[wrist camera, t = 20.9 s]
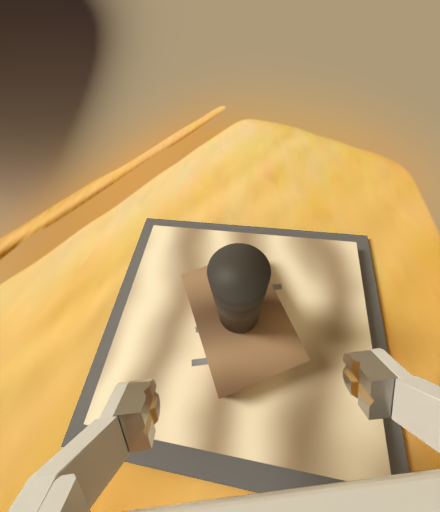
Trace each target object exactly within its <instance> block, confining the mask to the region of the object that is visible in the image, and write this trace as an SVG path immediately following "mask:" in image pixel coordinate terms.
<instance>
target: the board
mask: <svg viewBox="0 0 440 512" xmlns="http://www.w3.org/2000/svg"><path fill="white" fill-rule="evenodd" d="M233 243H244V244H249V245H252V246H254V247H256V248H258V249H259V250H260V251H261V252H263V253H264V255H265V256H266V257H267V259H268V261H269V263H270V266H271V278H270V282H271V284H272V286H273V288H274V290H275V292H276V294H277V296H278V298H279V300H280V302H281V303H282V305H283V307H284V309H285V311H286V313H287V315H288V317H289V319H290V321H291V323H292V325H293V327H294V329H295V331H296V333H297V335H298V337H299V339H300V341H301V342H302V344H303V346H304V348H305V350H306V352H307V354H308V356H309V358H310V361H308V362H306V363H303V364H301V365H298V366H296V367H294V368H291V369H289V370H287V371H284V372H282V373H280V374H277V375H275V376H272V377H270V378H268V379H265V380H263V381H261V382H258V383H256V384H253V385H251V386H249V387H246V388H244V389H242V390H239V391H237V392H235V393H232V394H230V395H227V396H225V397H223V398H220V399H219V398H218V395H217V391H216V388H215V385H214V381H213V378H212V375H211V372H210V368H209V365H208V362H207V359H206V355H205V352H204V349H203V345H202V342H201V339H200V336H199V332H198V329H197V326H196V322H195V319H194V316H193V313H192V309H191V306H190V303H189V300H188V296H187V293H186V290H185V286H184V283H183V280H182V277H181V275H182V274H185V273H187V272H190V271H193V270H196V269H199V268H201V267H204V266H207V265H208V263H209V261H210V259H211V257H212V256H213V254H214V253H215V252H216V251H217V250H219V249H220V248H222V247H224V246H226V245H229V244H233ZM369 349H372V344H371V337H370V330H369V324H368V317H367V310H366V304H365V297H364V290H363V284H362V277H361V270H360V264H359V257H358V250H357V244H356V242H349V241H337V240H325V239H313V238H301V237H289V236H277V235H265V234H253V233H241V232H229V231H217V230H205V229H194V228H182V227H170V226H158V225H153V228H152V231H151V234H150V237H149V240H148V242H147V245H146V248H145V251H144V254H143V257H142V259H141V262H140V265H139V268H138V271H137V274H136V277H135V279H134V282H133V285H132V288H131V291H130V294H129V296H128V299H127V302H126V305H125V308H124V311H123V313H122V316H121V319H120V322H119V325H118V328H117V330H116V333H115V336H114V339H113V342H112V345H111V347H110V350H109V353H108V356H107V359H106V362H105V365H104V367H103V370H102V373H101V376H100V379H99V382H98V384H97V387H96V390H95V393H94V396H93V399H92V401H91V404H90V407H89V410H88V413H87V416H86V418H85V421H84V424H85V425H89V424H91V423H92V422H93V421H94V420H95V419H99V418H100V416H101V414H102V412H103V410H104V408H105V406H106V404H107V402H108V400H109V398H110V396H111V394H112V392H113V390H114V388H115V386H116V385H117V384H118V383H121V382H130V381H137V380H147V379H154V380H155V383H156V390H155V392H156V393H157V394H159V398H160V415H159V419H158V421H157V422H156V424H155V425H154V427H155V430H156V432H155V437H154V440H159V441H164V442H168V443H173V444H178V445H182V446H187V447H191V448H196V449H201V450H205V451H210V452H215V453H219V454H224V455H229V456H233V457H238V458H242V459H247V460H252V461H256V462H261V463H266V464H270V465H275V466H279V467H284V468H289V469H293V470H298V471H303V472H307V473H312V474H317V475H321V476H326V477H330V478H335V479H340V480H344V481H352V480H360V479H367V478H374V477H382V476H389V475H391V470H390V464H389V457H388V450H387V444H386V437H385V430H384V424H383V419H375V420H368V418H367V417H366V415H365V414H364V413H363V411H362V410H361V408H360V407H359V405H358V398H356V397H354V396H353V395H351V394H350V392H349V391H348V389H347V387H346V385H345V383H344V379H343V369H344V368H345V366H346V365H345V363H344V362H343V355H344V353H350V352H357V351H364V350H369Z"/></svg>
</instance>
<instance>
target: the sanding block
mask: <svg viewBox="0 0 440 512" xmlns="http://www.w3.org/2000/svg"><path fill="white" fill-rule="evenodd" d="M181 277H182V280H183V283H184V286H185V290H186V293H187V296H188V300H189V303H190V306H191V309H192V313H193V316H194V319H195V322H196V326H197V329H198V332H199V336H200V339H201V342H202V345H203V349H204V352H205V355H206V359H207V362H208V365H209V368H210V372H211V375H212V378H213V381H214V385H215V388H216V391H217V395H218V398H219V399H220V398H223V397H225V396H227V395H230V394H232V393H235V392H237V391H239V390H242V389H244V388H246V387H249V386H251V385H253V384H256V383H258V382H261V381H263V380H265V379H268V378H270V377H272V376H275V375H277V374H280V373H282V372H284V371H287V370H289V369H291V368H294V367H296V366H298V365H301V364H303V363H306V362H308V361H310V358H309V356H308V354H307V352H306V350H305V348H304V346H303V344H302V342H301V341H300V339H299V337H298V335H297V333H296V331H295V329H294V327H293V325H292V323H291V321H290V319H289V317H288V315H287V313H286V311H285V309H284V307H283V305H282V303H281V302H280V300H279V298H278V296H277V294H276V292H275V290H274V288H273V286H272V284H271V282H270V278H271V266H270V263H269V261H268V259H267V257H266V256H265V255H264V253H263V252H261V251H260V250H259V249H258V248H256V247H254V246H252V245H249V244H244V243H233V244H229V245H226V246H224V247H222V248H220V249H219V250H217V251H216V252H215V253H214V254H213V256H212V257H211V259H210V261H209V263H208V265H207V266H204V267H201V268H199V269H196V270H193V271H190V272H187V273H185V274H182V275H181Z"/></svg>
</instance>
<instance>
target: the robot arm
mask: <svg viewBox="0 0 440 512" xmlns="http://www.w3.org/2000/svg"><path fill="white" fill-rule="evenodd" d="M343 362H344V363H345V365H346V366H345V368H344V369H343V379H344V383H345V385H346V387H347V389H348V391H349V392H350V394H351V395H353V396H354V397H356V398H358V405H359V407H360V408H361V410H362V411H363V413H364V414H365V415H366V417H367V418H368V420H375V419H384V418H392V420H394V421H395V422H396V423H398V424H399V425H401V426H402V427H403V428H405V429H406V430H408V431H409V432H410V433H412V434H413V435H415V436H416V437H417V438H419V439H420V440H422V441H423V442H425V443H426V444H427V445H429V446H430V447H432V448H433V449H434V450H436V451H437V452H439V453H440V386H439V385H436V384H434V383H432V382H430V381H427V380H425V379H423V378H420V377H418V376H414V377H413V376H412V375H411V374H410V373H409V372H408V371H407V370H405V369H404V368H403V367H402V366H401V365H400V364H399V363H398V362H397V361H396V360H394V359H393V358H392V357H391V356H390V355H389V354H388V353H387V352H386V351H385V350H383V349H381V348H376V349H369V350H364V351H357V352H350V353H344V355H343ZM155 390H156V383H155V380H154V379H147V380H137V381H130V382H121V383H118V384H117V385H116V386H115V388H114V390H113V392H112V394H111V396H110V398H109V400H108V402H107V404H106V406H105V408H104V410H103V412H102V414H101V416H100V418H99V419H95V420H94V421H93V422H92V423H91V424H89V425H88V426H87V427H86V428H85V429H84V430H83V431H82V432H80V433H79V434H78V435H77V436H76V437H75V438H74V439H73V440H71V441H70V442H69V443H68V444H67V445H66V446H65V447H64V448H62V449H61V450H60V451H59V452H58V453H57V454H56V455H55V456H53V457H52V458H51V459H50V460H49V461H48V462H47V463H46V464H44V465H43V466H42V467H41V468H40V469H39V470H38V471H37V472H35V473H34V474H33V475H32V476H31V477H30V478H29V479H28V481H27V482H26V484H25V485H24V487H23V488H22V490H21V492H20V493H19V495H18V496H17V498H16V499H15V501H14V503H13V504H12V506H11V507H10V509H9V510H8V512H91V511H90V508H91V507H92V505H93V504H94V502H95V501H96V500H97V498H98V497H99V496H100V494H101V493H102V491H103V490H104V489H105V487H106V486H107V485H108V483H109V482H110V480H111V479H112V478H113V476H114V475H115V474H116V472H117V471H118V469H119V468H120V467H121V465H122V464H123V462H124V461H125V460H126V458H127V457H128V456H129V453H132V452H138V451H144V450H150V449H152V445H153V441H154V437H155V432H156V430H155V427H154V425H155V424H156V422H157V421H158V419H159V415H160V398H159V394H157V393H156V392H155ZM122 512H440V469H434V470H426V471H419V472H411V473H404V474H396V475H389V476H382V477H374V478H367V479H360V480H352V481H345V482H338V483H330V484H323V485H316V486H308V487H301V488H294V489H286V490H278V491H271V492H263V493H256V494H248V495H241V496H233V497H226V498H218V499H211V500H203V501H196V502H189V503H181V504H174V505H166V506H159V507H151V508H144V509H136V510H129V511H122Z"/></svg>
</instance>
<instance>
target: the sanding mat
mask: <svg viewBox="0 0 440 512" xmlns="http://www.w3.org/2000/svg"><path fill="white" fill-rule="evenodd" d="M153 225H158V226H170V227H182V228H194V229H205V230H217V231H229V232H241V233H253V234H265V235H277V236H289V237H301V238H313V239H325V240H337V241H349V242H356V244H357V250H358V257H359V264H360V270H361V277H362V284H363V290H364V297H365V304H366V310H367V317H368V324H369V330H370V337H371V344H372V349H376V348H381V349H383V350H385V351H386V352H387V353H388V349H387V344H386V338H385V333H384V327H383V321H382V316H381V310H380V305H379V299H378V293H377V288H376V282H375V277H374V271H373V265H372V260H371V254H370V249H369V243H368V238H367V236H363V235H351V234H338V233H326V232H313V231H301V230H288V229H276V228H263V227H251V226H238V225H226V224H213V223H200V222H188V221H175V220H163V219H150V218H147V219H146V222H145V225H144V227H143V230H142V233H141V235H140V238H139V241H138V243H137V246H136V249H135V251H134V254H133V257H132V259H131V262H130V265H129V267H128V270H127V273H126V275H125V278H124V281H123V283H122V286H121V289H120V291H119V294H118V297H117V299H116V302H115V305H114V307H113V310H112V313H111V315H110V318H109V321H108V323H107V326H106V329H105V331H104V334H103V337H102V339H101V342H100V345H99V347H98V350H97V353H96V355H95V358H94V361H93V363H92V366H91V369H90V371H89V374H88V377H87V379H86V382H85V385H84V387H83V390H82V393H81V395H80V398H79V401H78V403H77V406H76V409H75V411H74V414H73V416H72V419H71V422H70V424H69V427H68V430H67V432H66V435H65V438H64V440H63V443H62V446H61V447H65V446H66V445H67V444H68V443H69V442H70V441H71V440H73V439H74V438H75V437H76V436H77V435H78V434H79V433H80V432H82V431H83V430H84V429H85V428H86V427H87V426H88V425H85V424H84V421H85V418H86V416H87V413H88V410H89V407H90V404H91V401H92V399H93V396H94V393H95V390H96V387H97V384H98V382H99V379H100V376H101V373H102V370H103V367H104V365H105V362H106V359H107V356H108V353H109V350H110V347H111V345H112V342H113V339H114V336H115V333H116V330H117V328H118V325H119V322H120V319H121V316H122V313H123V311H124V308H125V305H126V302H127V299H128V296H129V294H130V291H131V288H132V285H133V282H134V279H135V277H136V274H137V271H138V268H139V265H140V262H141V259H142V257H143V254H144V251H145V248H146V245H147V242H148V240H149V237H150V234H151V231H152V228H153ZM383 424H384V430H385V437H386V444H387V450H388V457H389V464H390V470H391V475H396V474H404V473H410V472H409V467H408V461H407V456H406V450H405V444H404V439H403V433H402V428H401V425H399V424H398V423H396V422H395V421H394V420H392V418H384V419H383ZM124 462H129V463H133V464H137V465H141V466H146V467H150V468H154V469H158V470H163V471H167V472H171V473H176V474H180V475H184V476H188V477H193V478H197V479H201V480H206V481H210V482H214V483H218V484H223V485H227V486H231V487H236V488H240V489H244V490H248V491H253V492H257V493H263V492H271V491H278V490H286V489H294V488H301V487H308V486H316V485H323V484H330V483H338V482H345V481H344V480H340V479H335V478H330V477H326V476H321V475H317V474H312V473H307V472H303V471H298V470H293V469H289V468H284V467H279V466H275V465H270V464H266V463H261V462H256V461H252V460H247V459H242V458H238V457H233V456H229V455H224V454H219V453H215V452H210V451H205V450H201V449H196V448H191V447H187V446H182V445H178V444H173V443H168V442H164V441H159V440H154V441H153V445H152V449H150V450H144V451H138V452H132V453H129V456H128V457H127V458H126V460H125V461H124Z"/></svg>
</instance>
